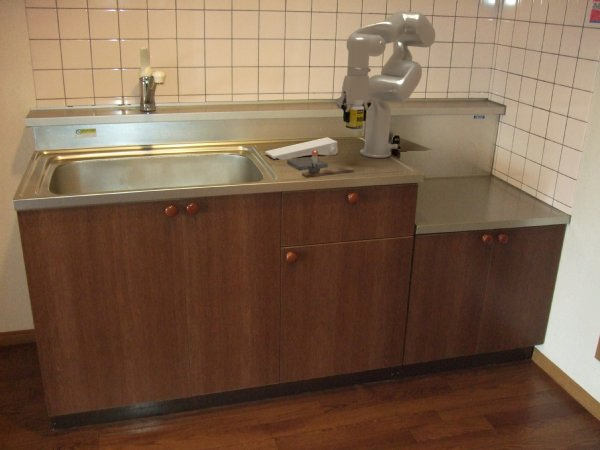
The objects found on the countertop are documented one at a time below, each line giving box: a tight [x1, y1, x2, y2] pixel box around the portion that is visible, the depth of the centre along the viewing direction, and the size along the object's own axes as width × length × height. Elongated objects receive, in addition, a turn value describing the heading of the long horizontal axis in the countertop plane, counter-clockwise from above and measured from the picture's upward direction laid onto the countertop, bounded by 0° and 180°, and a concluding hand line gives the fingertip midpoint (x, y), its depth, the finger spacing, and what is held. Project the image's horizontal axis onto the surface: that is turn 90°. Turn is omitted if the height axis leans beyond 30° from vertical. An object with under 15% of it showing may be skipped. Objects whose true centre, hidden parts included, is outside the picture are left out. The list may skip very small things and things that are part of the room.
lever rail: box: [301, 166, 355, 178], centre depth 220 cm, size 20×3×1 cm, turn 117°
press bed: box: [286, 157, 329, 171], centre depth 229 cm, size 12×10×1 cm
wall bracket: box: [264, 136, 339, 161], centre depth 243 cm, size 10×7×28 cm
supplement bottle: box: [345, 100, 364, 132], centre depth 225 cm, size 6×6×11 cm
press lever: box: [307, 150, 321, 173], centre depth 215 cm, size 3×3×8 cm
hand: (354, 120), depth 226 cm, fingers closed on supplement bottle, 6 cm apart
